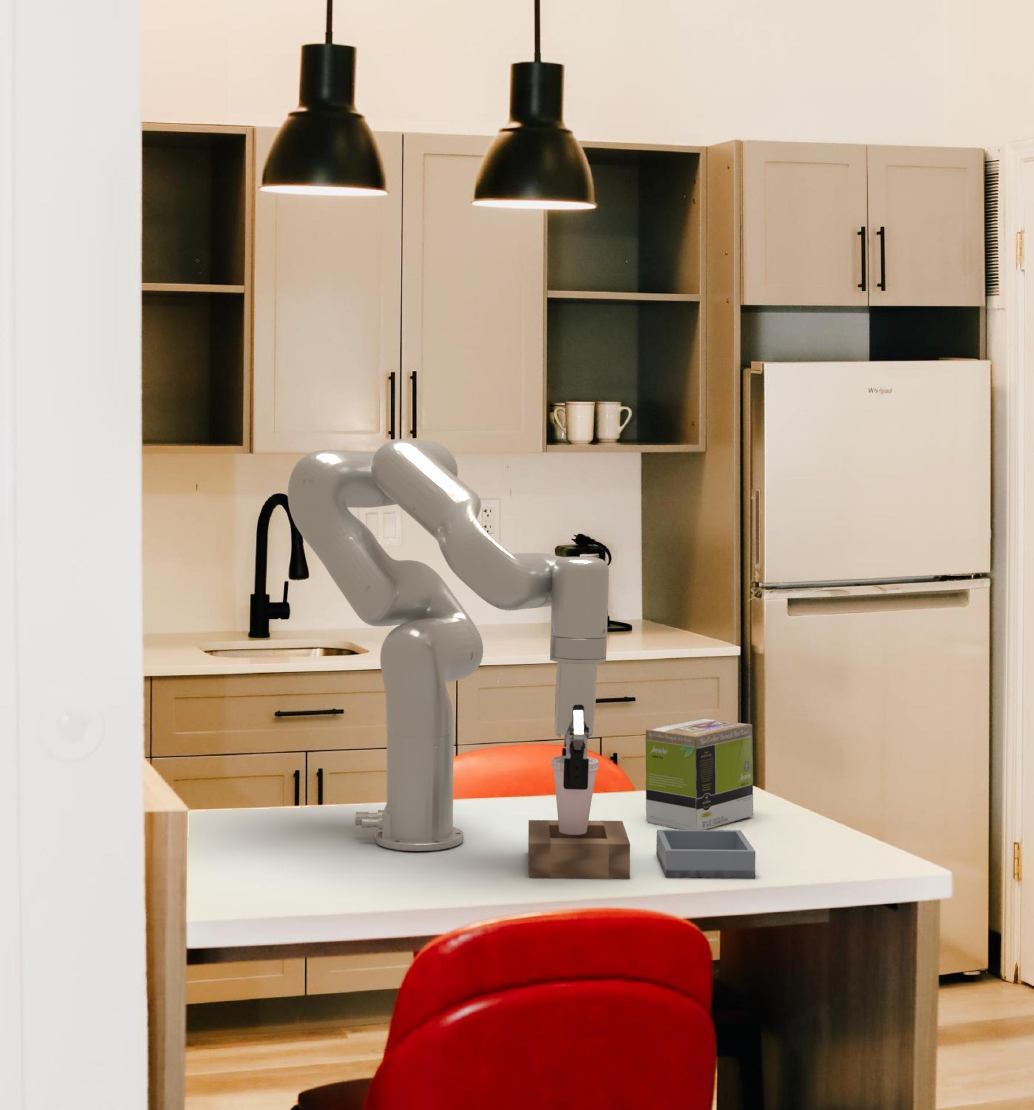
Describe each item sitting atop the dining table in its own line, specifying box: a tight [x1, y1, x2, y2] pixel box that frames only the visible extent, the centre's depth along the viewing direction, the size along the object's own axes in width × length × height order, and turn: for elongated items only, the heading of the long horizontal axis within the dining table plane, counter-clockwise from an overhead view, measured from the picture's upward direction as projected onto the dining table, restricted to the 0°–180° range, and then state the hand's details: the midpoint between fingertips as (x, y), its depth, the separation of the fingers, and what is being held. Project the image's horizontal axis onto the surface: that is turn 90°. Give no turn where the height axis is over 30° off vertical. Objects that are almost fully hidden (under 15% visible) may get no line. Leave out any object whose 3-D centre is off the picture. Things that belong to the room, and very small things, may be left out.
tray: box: [655, 829, 756, 879], centre depth 180 cm, size 12×12×4 cm
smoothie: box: [550, 755, 599, 835], centre depth 180 cm, size 6×6×14 cm
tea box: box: [645, 717, 754, 830], centre depth 207 cm, size 15×10×15 cm
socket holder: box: [527, 819, 631, 880], centre depth 180 cm, size 13×13×4 cm
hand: (574, 782), depth 180 cm, fingers closed on smoothie, 6 cm apart
